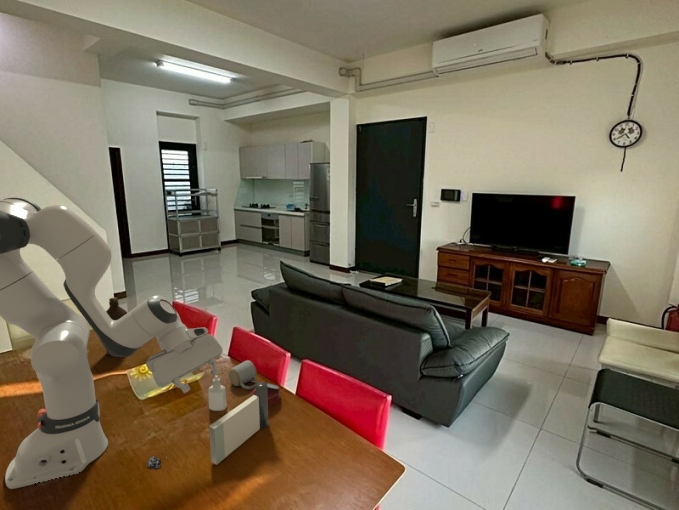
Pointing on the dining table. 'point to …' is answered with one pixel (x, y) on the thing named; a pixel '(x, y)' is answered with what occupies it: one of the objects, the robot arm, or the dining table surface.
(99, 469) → the dining table surface
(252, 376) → the ceramic mug
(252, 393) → the canned food
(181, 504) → the dining table surface
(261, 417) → the hinge post
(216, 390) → the eye dropper bottle
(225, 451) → the cream flat block
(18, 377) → the dining table surface
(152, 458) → the blueberries
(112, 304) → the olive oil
